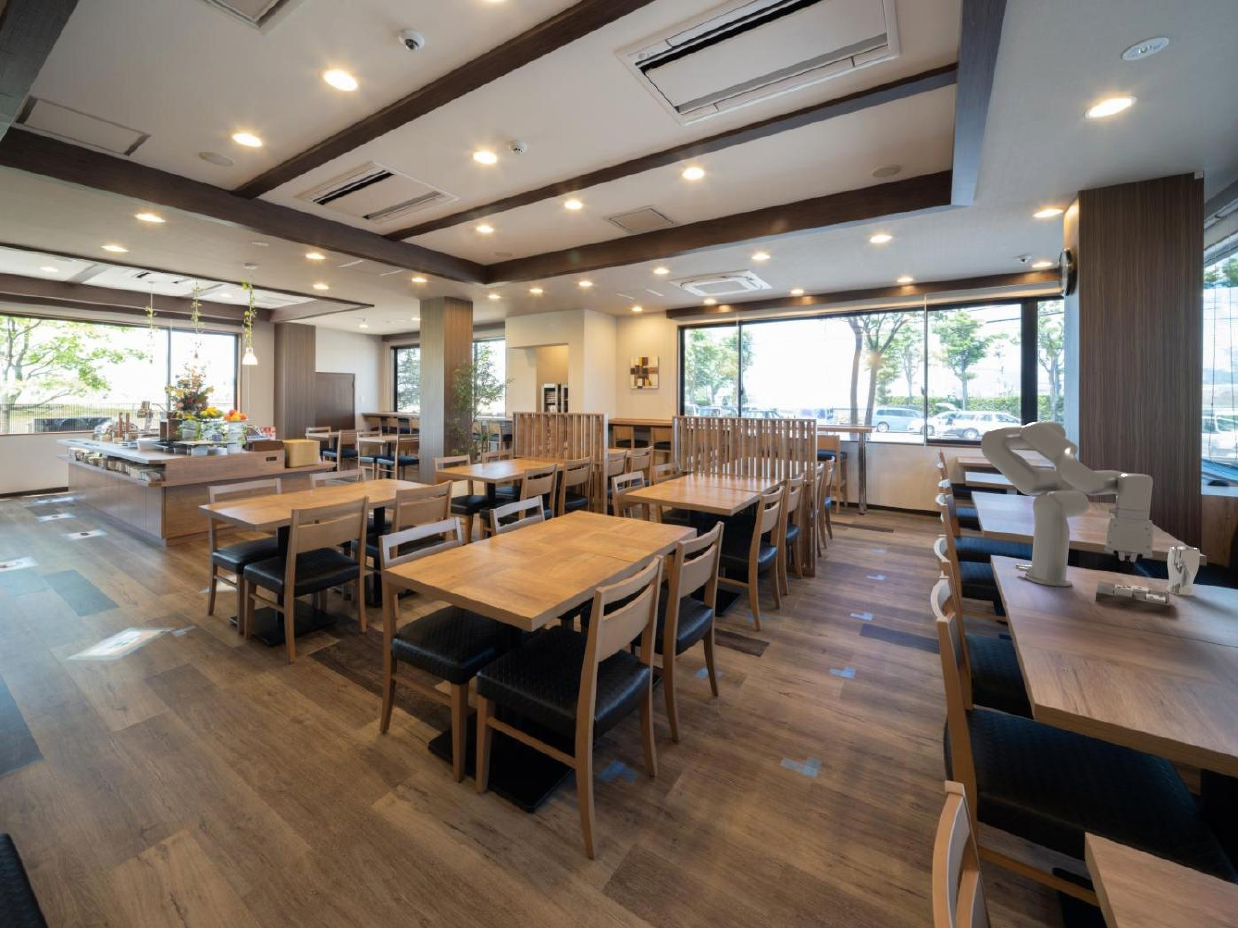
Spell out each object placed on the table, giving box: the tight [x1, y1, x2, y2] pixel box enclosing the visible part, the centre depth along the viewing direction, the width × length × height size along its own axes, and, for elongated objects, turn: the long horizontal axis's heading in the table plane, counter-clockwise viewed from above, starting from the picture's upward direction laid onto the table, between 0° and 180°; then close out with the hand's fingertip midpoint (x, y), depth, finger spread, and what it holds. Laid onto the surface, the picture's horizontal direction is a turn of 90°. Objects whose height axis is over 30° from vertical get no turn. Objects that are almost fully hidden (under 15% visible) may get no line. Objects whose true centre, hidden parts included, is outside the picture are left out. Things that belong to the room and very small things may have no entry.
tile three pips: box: [1114, 583, 1133, 597], centre depth 162 cm, size 4×4×3 cm
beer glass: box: [1165, 544, 1201, 597], centre depth 169 cm, size 7×7×15 cm
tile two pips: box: [1146, 594, 1166, 603], centre depth 157 cm, size 4×4×3 cm
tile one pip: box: [1130, 585, 1149, 594], centre depth 165 cm, size 4×4×3 cm
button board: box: [1095, 581, 1171, 616], centre depth 163 cm, size 16×14×3 cm
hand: (1125, 572), depth 161 cm, fingers closed
